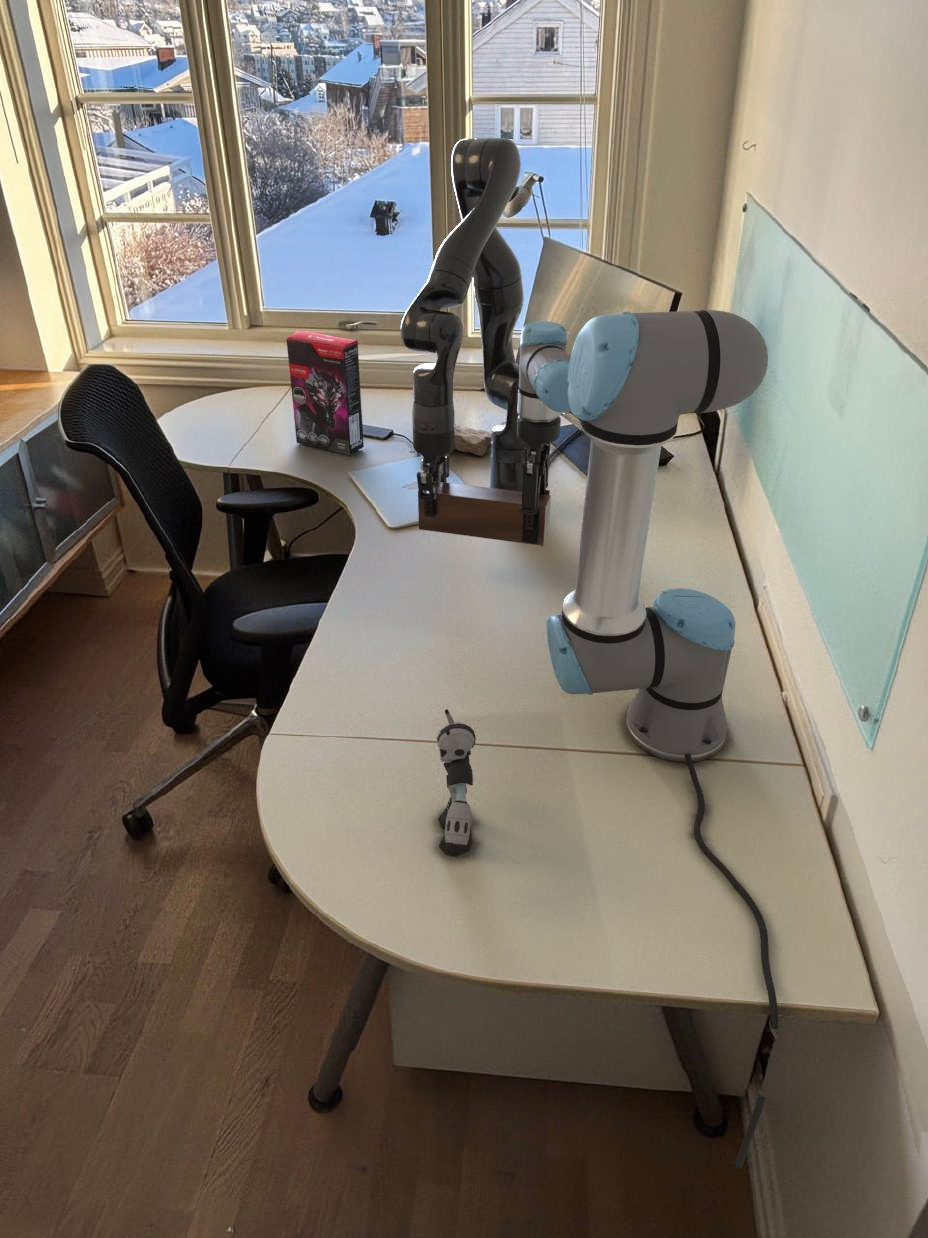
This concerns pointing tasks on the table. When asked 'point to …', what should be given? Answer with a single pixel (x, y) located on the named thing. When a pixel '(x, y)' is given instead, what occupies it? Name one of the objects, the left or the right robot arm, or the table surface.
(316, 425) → the graphics card box
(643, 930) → the table surface
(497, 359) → the left robot arm
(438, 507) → the walnut beam
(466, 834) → the robot
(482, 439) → the stone
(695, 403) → the right robot arm
